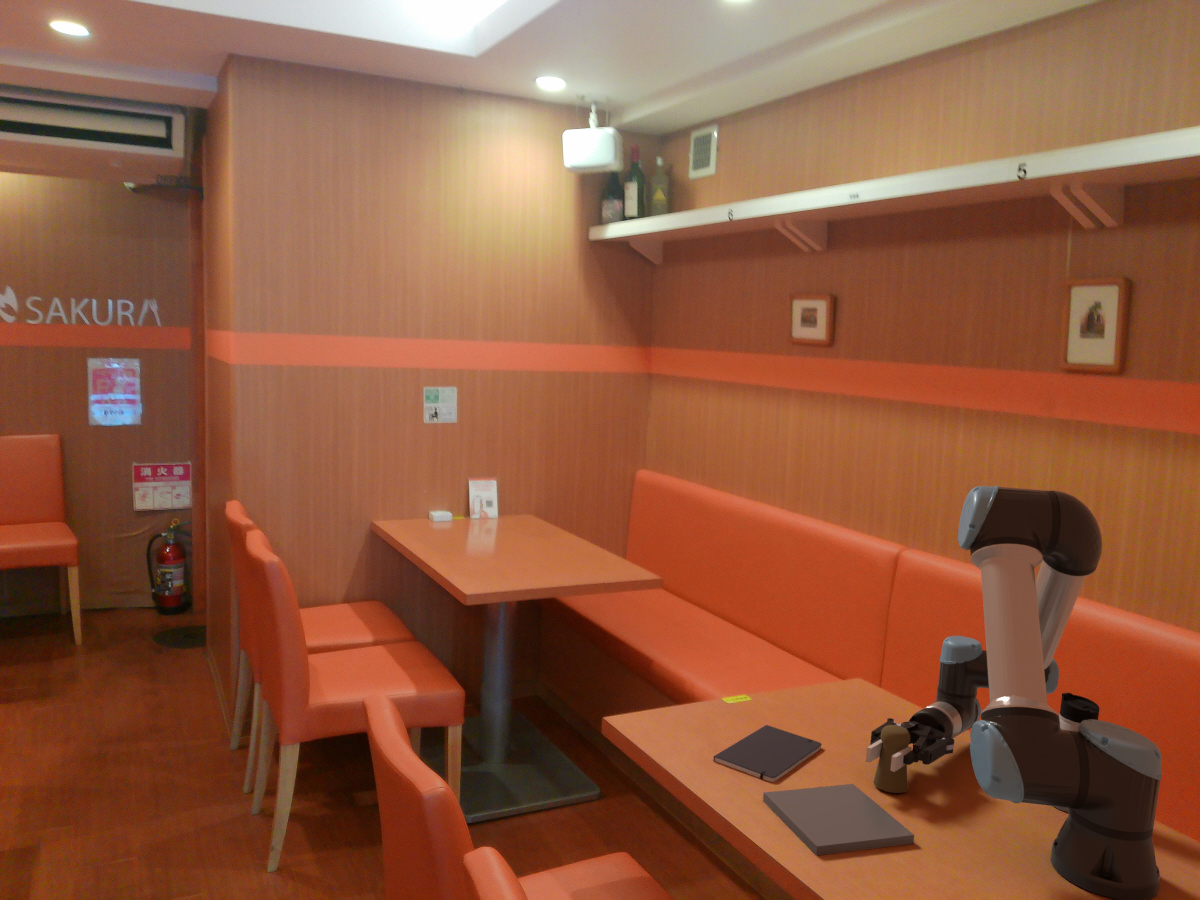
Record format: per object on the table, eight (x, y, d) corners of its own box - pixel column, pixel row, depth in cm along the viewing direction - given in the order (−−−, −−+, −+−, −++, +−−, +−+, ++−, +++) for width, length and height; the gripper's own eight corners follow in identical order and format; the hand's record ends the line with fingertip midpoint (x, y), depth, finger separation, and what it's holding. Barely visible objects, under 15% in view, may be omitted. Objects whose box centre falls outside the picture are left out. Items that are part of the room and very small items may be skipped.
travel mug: (1064, 794, 176) (1077, 690, 174) (1094, 811, 170) (1108, 704, 168) (1039, 798, 174) (1052, 693, 171) (1069, 816, 168) (1083, 707, 165)
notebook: (765, 731, 198) (713, 763, 181) (766, 724, 197) (713, 756, 181) (822, 750, 190) (772, 786, 173) (823, 743, 190) (773, 777, 173)
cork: (909, 795, 171) (915, 736, 169) (874, 789, 172) (880, 731, 171) (905, 780, 177) (911, 723, 175) (872, 775, 178) (877, 719, 176)
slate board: (913, 843, 155) (914, 834, 155) (816, 855, 149) (816, 846, 149) (852, 791, 172) (853, 783, 172) (763, 800, 166) (763, 792, 166)
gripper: (976, 758, 181) (924, 796, 164) (891, 730, 193) (835, 763, 176) (980, 721, 181) (929, 755, 163) (895, 694, 192) (839, 724, 175)
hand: (880, 759), depth 169 cm, fingers closed on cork, 4 cm apart
